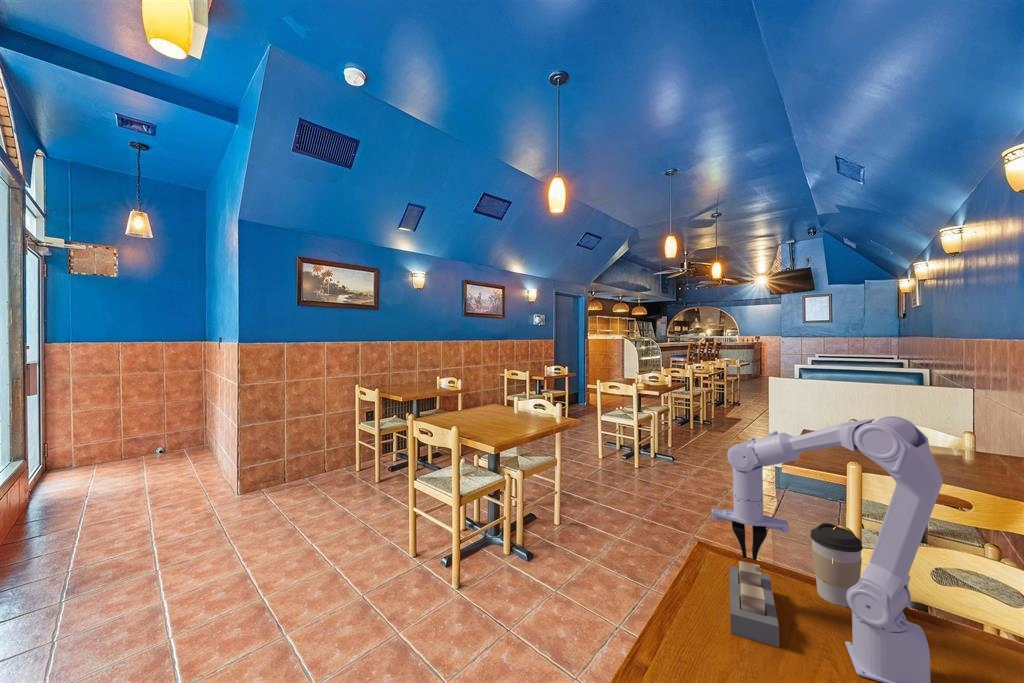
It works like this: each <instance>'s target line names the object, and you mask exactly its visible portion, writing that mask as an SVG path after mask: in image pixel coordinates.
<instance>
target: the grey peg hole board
mask: <svg viewBox="0 0 1024 683" xmlns="http://www.w3.org/2000/svg"><path fill="white" fill-rule="evenodd" d="M761 588H763V591H764V598H765V616H764V615H760V614H756V613H752V612H749V611H745V610H742V609H741V584H740V577H739V567H736V566H732V565H729V605H730V606H729V607H730V608H729V609H730V610H729V611H730V613H729V614H730V634H732V635H733V636H738V637H742V638H744V639H749V640H752V641H756V642H759V643H762V644H765V645H770V646H773V647H776V648H780V626H779V621H778V620H779V619H778V614H777V610H776V604H775V599H774V594H773V587H772V583H771V577H770V574H767V573H764V572H761Z"/></svg>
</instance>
